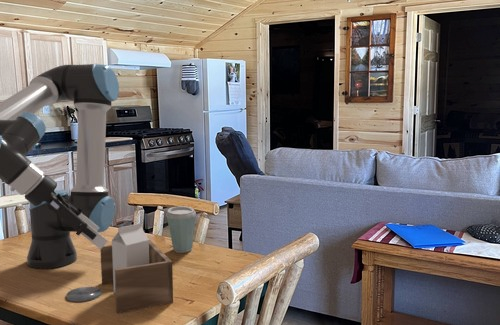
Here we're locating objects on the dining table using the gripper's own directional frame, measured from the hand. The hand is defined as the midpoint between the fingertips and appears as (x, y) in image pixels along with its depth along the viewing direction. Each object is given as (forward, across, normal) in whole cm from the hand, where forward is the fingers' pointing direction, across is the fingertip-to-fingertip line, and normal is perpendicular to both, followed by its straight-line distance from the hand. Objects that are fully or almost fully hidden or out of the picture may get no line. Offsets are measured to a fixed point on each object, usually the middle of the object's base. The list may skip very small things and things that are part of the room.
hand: (100, 238), depth 124 cm
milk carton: (+18, -1, -6) cm, 19 cm away
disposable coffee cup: (+35, -32, +11) cm, 48 cm away
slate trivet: (+9, -5, -15) cm, 18 cm away
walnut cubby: (+18, -1, -5) cm, 19 cm away
